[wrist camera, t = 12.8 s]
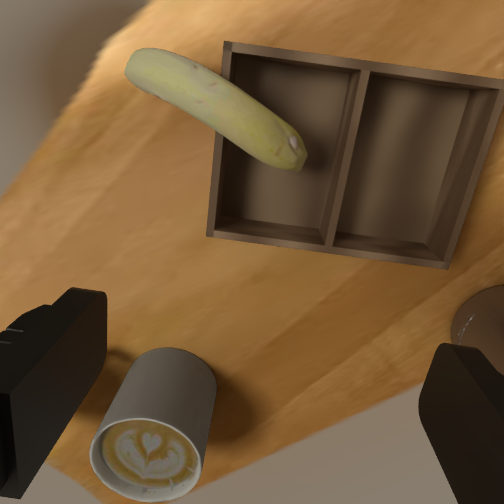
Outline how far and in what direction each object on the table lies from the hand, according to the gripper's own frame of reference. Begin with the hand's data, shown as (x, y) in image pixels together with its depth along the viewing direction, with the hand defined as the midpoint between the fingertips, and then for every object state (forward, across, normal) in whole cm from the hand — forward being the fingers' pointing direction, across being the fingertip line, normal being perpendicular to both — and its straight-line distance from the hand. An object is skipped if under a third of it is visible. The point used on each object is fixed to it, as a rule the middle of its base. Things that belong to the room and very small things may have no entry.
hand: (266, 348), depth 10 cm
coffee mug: (+28, +8, +26) cm, 39 cm away
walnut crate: (+27, -5, -2) cm, 28 cm away
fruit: (+23, -3, -2) cm, 24 cm away
